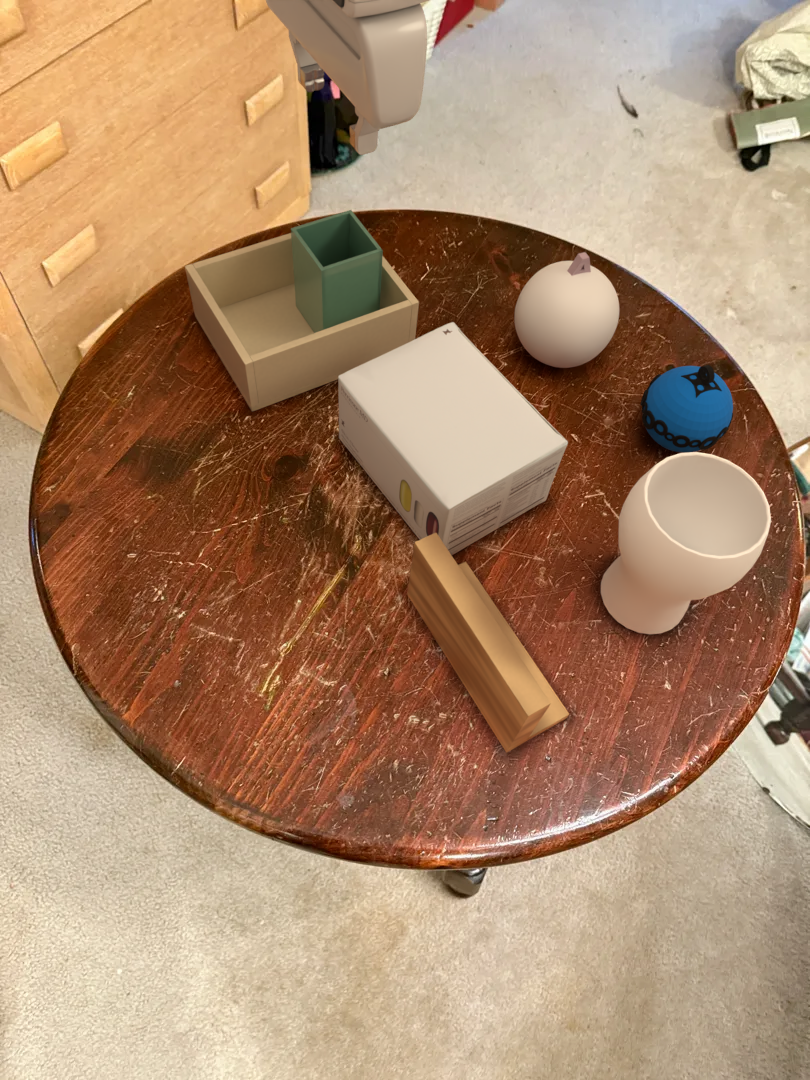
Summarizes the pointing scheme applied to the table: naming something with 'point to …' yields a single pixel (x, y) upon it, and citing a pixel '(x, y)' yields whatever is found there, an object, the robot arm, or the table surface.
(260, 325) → the open box
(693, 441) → the ornament
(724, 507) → the cup
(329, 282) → the green rectangular container
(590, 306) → the ornament
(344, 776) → the table surface
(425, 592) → the stepped wooden molding
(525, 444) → the supplement box
